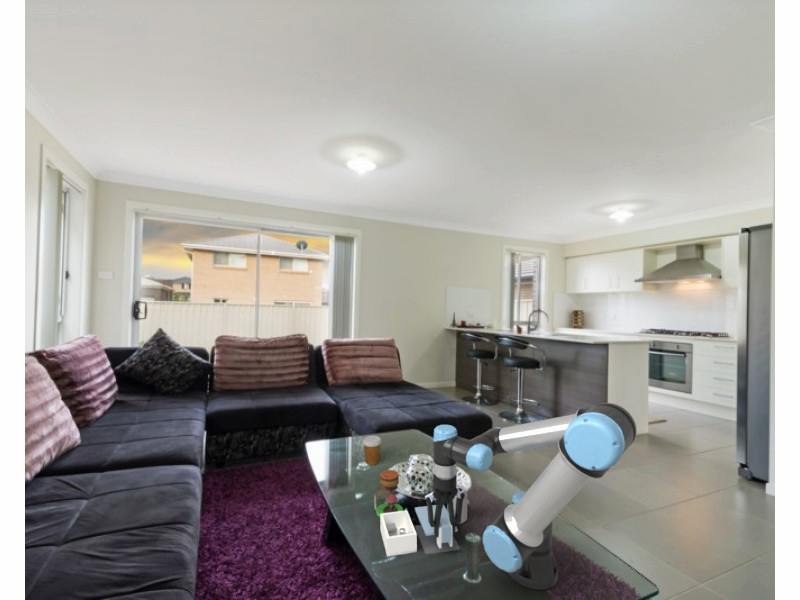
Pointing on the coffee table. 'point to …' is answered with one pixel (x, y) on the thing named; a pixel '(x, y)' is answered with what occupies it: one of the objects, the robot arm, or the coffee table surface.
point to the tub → (398, 533)
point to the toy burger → (387, 492)
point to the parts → (394, 530)
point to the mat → (434, 542)
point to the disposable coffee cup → (372, 449)
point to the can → (464, 505)
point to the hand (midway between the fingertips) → (444, 544)
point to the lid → (444, 522)
